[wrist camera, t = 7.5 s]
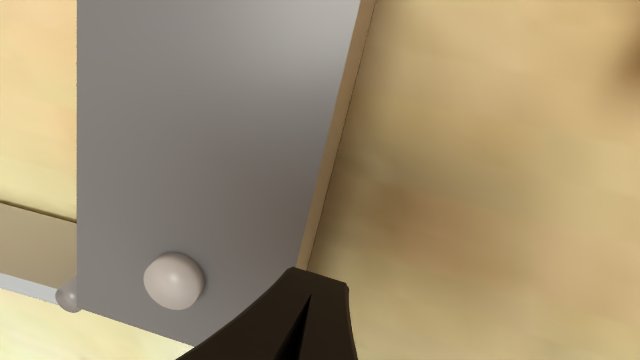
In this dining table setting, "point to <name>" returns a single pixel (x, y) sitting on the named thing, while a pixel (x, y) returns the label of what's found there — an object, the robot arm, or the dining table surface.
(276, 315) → the robot arm
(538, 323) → the dining table surface
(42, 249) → the grey long bar
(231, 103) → the camera body
